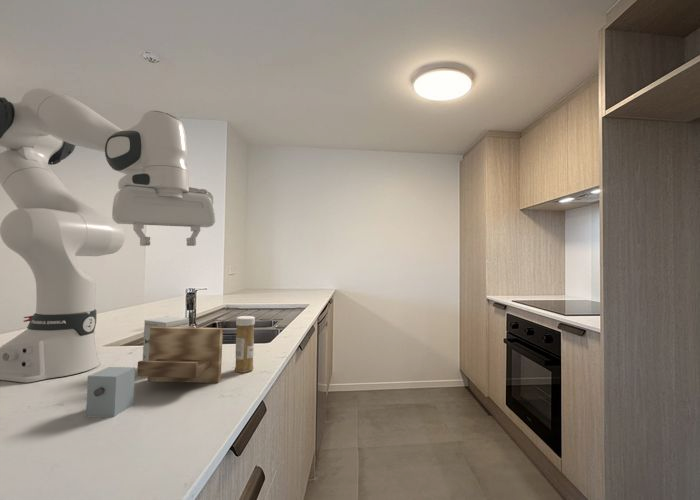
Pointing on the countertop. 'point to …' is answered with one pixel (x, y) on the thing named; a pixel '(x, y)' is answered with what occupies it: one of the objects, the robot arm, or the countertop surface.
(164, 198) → the robot arm
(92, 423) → the countertop surface
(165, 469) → the countertop surface
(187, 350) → the wall board
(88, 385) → the cabinet box
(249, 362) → the sprinkles bottle
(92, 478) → the countertop surface
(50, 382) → the countertop surface
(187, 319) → the supplement box
